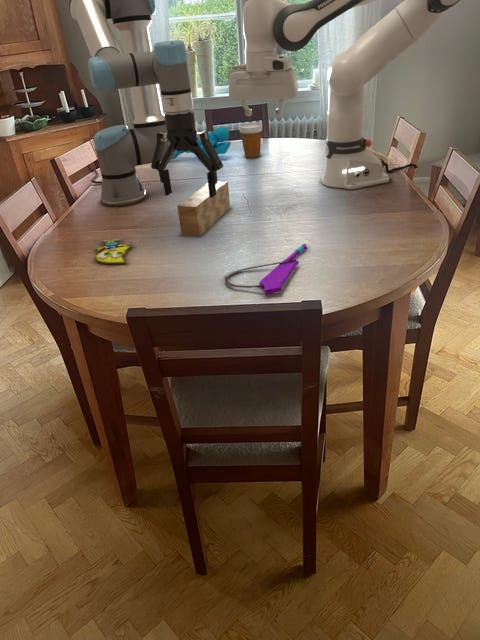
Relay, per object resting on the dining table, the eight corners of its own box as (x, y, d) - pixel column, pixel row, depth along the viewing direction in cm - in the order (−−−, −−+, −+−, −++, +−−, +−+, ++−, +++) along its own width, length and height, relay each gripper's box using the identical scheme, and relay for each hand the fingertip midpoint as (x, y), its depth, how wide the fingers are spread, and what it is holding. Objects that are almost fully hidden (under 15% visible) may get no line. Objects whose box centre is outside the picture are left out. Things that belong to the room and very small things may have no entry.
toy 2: (168, 140, 212) (230, 120, 202) (177, 163, 217) (238, 145, 207) (155, 150, 198) (221, 129, 188) (165, 175, 203) (230, 156, 193)
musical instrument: (224, 303, 104) (316, 286, 101) (222, 294, 103) (315, 277, 100) (230, 261, 125) (306, 246, 122) (228, 253, 124) (305, 239, 121)
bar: (213, 207, 153) (210, 180, 149) (230, 208, 151) (227, 181, 147) (181, 235, 136) (177, 205, 131) (199, 236, 134) (195, 207, 129)
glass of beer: (264, 157, 198) (262, 127, 191) (241, 159, 198) (238, 129, 192) (263, 152, 206) (261, 122, 199) (241, 153, 206) (239, 124, 200)
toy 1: (135, 237, 135) (125, 260, 122) (135, 240, 135) (125, 263, 123) (99, 239, 135) (85, 263, 122) (100, 242, 135) (86, 266, 123)
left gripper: (128, 115, 121) (144, 197, 133) (218, 113, 113) (227, 201, 124) (143, 110, 127) (157, 189, 139) (230, 107, 119) (237, 192, 130)
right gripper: (222, 66, 135) (227, 118, 143) (292, 62, 128) (293, 117, 136) (231, 63, 140) (235, 114, 148) (299, 60, 133) (299, 113, 141)
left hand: (190, 195), depth 131 cm, fingers open, 13 cm apart
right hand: (263, 115), depth 142 cm, fingers open, 8 cm apart
